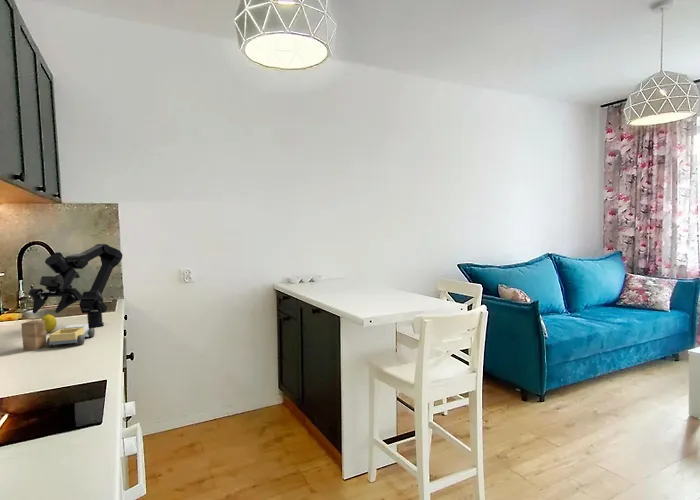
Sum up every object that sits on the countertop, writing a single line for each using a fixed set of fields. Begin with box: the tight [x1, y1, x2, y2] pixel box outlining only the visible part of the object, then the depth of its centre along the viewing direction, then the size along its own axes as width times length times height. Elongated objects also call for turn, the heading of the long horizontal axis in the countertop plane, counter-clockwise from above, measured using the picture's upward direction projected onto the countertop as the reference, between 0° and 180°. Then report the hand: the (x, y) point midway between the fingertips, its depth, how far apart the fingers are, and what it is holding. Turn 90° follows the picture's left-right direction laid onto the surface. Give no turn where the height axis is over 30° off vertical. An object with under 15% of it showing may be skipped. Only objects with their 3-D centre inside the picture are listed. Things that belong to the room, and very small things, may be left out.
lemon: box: [41, 313, 57, 334], centre depth 182 cm, size 6×6×8 cm
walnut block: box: [21, 319, 48, 351], centre depth 159 cm, size 5×5×10 cm
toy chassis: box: [46, 323, 96, 348], centre depth 166 cm, size 16×11×5 cm
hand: (44, 312), depth 164 cm, fingers open, 9 cm apart
